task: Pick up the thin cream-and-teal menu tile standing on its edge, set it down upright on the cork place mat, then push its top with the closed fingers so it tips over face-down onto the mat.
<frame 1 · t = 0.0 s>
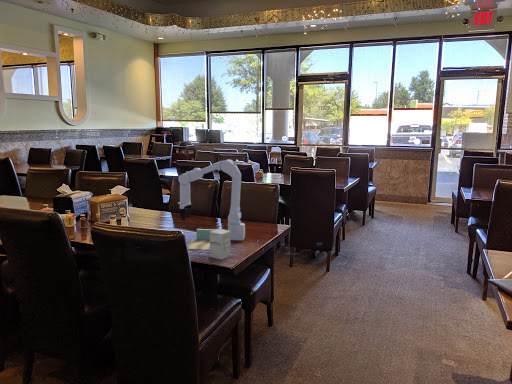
hand: (185, 218, 210), 10 cm above the table, tool pointing down, fingers open, 7 cm apart
mat: (203, 245, 196), on the table
supplement box: (220, 256, 179), on the table
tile: (205, 240, 205), on the table
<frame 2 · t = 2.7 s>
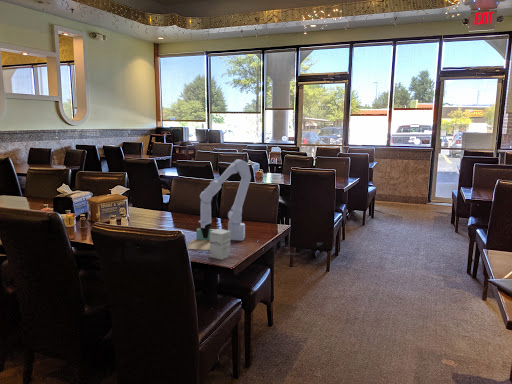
hand: (205, 237, 205), 1 cm above the table, tool pointing down, fingers closed on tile, 1 cm apart
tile: (205, 240, 205), on the table, touching gripper
everything else where it was.
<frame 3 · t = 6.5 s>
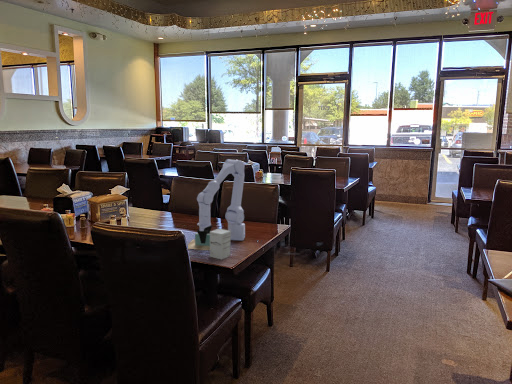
hand: (204, 241, 194), 3 cm above the table, tool pointing down, fingers open, 7 cm apart
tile: (204, 245, 195), resting on mat
everything else where it was.
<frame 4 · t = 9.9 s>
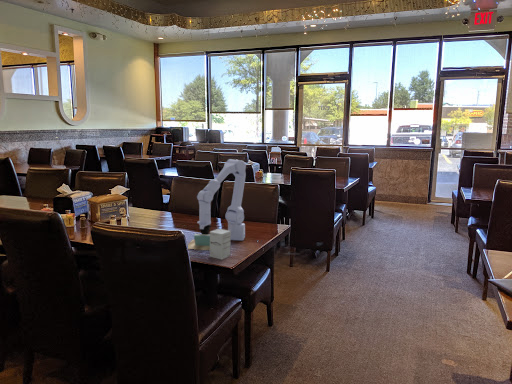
hand: (205, 239, 195), 3 cm above the table, tool pointing down, fingers closed
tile: (204, 244, 195), point 1 cm above the table, tilted 19°, touching mat
everything else where it was.
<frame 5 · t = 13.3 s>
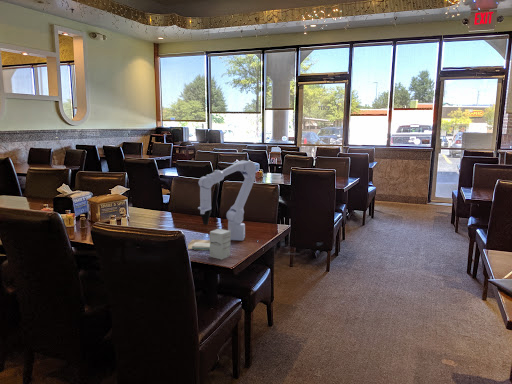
hand: (205, 224, 199), 10 cm above the table, tool pointing down, fingers closed
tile: (204, 244, 194), point 1 cm above the table, tilted 90°, touching mat
everything else where it was.
at the end: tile tilted 90°; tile inside the target area on the mat (2.1 cm from its centre), point 1.1 cm above the mat's base; the gripper is holding nothing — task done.
